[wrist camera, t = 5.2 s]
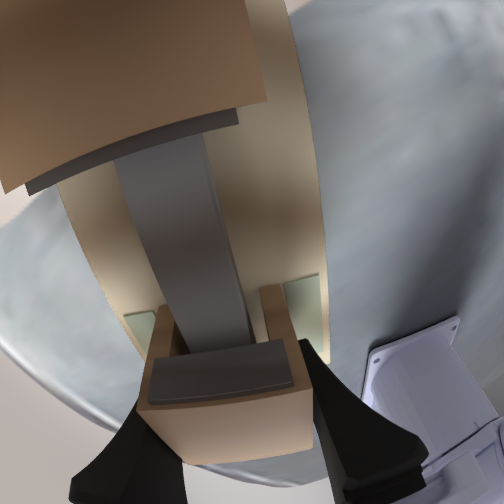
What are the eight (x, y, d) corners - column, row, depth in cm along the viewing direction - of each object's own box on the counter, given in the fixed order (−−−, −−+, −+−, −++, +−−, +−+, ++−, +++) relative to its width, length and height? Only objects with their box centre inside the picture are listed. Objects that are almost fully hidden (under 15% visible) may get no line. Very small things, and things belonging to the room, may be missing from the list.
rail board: (325, 351, 17) (359, 441, 11) (169, 382, 16) (162, 473, 11) (267, -30, 7) (314, -123, 1) (38, 45, 7) (-67, 32, 1)
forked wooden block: (289, 359, 15) (312, 448, 10) (191, 375, 15) (188, 464, 10) (278, 278, 12) (312, 382, 7) (156, 300, 12) (131, 405, 7)
